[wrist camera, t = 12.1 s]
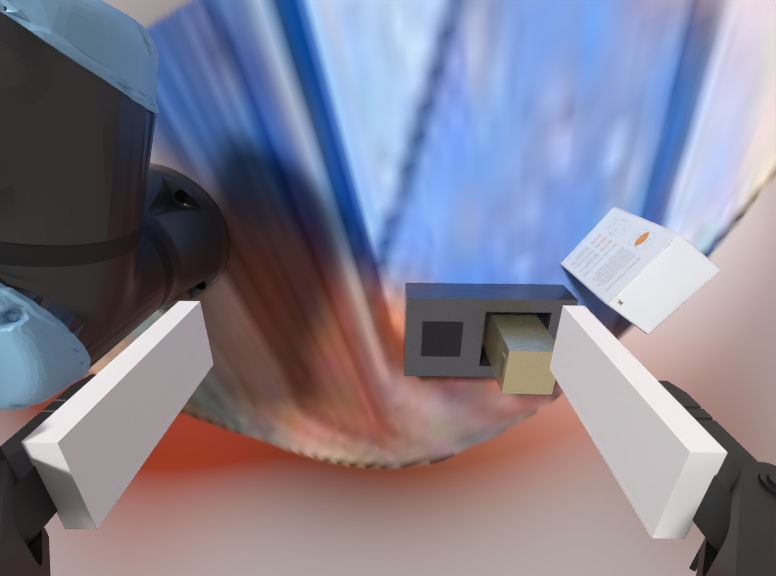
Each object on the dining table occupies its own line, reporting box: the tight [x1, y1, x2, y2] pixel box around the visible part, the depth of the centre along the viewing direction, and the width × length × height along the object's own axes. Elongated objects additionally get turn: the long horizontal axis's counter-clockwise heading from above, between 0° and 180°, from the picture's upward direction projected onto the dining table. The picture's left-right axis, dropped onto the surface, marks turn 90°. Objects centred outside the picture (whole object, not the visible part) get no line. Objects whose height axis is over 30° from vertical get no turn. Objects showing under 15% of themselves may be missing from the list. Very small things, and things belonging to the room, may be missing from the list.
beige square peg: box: [482, 312, 556, 395], centre depth 42 cm, size 5×5×10 cm
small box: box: [561, 207, 720, 334], centre depth 38 cm, size 8×6×10 cm
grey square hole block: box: [404, 283, 578, 377], centre depth 45 cm, size 18×10×4 cm, turn 90°
